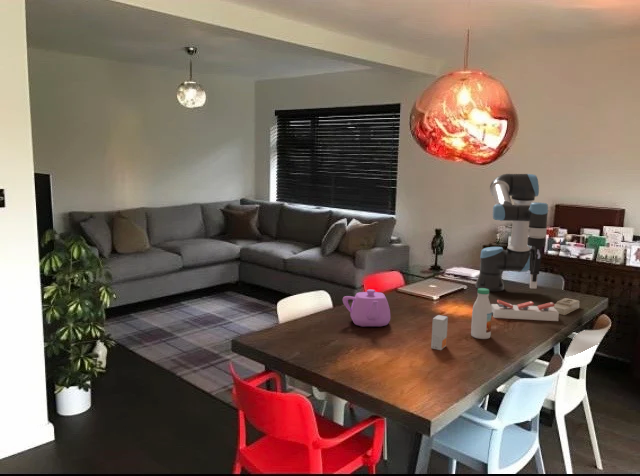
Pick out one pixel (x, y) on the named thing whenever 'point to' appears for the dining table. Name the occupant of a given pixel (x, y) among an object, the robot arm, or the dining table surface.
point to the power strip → (524, 312)
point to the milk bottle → (481, 315)
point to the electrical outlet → (566, 306)
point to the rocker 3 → (545, 305)
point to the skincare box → (439, 332)
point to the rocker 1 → (505, 303)
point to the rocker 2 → (525, 304)
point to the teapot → (368, 308)
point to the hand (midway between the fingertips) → (533, 288)
